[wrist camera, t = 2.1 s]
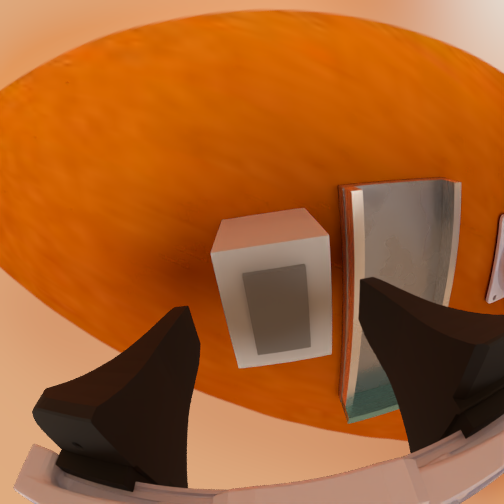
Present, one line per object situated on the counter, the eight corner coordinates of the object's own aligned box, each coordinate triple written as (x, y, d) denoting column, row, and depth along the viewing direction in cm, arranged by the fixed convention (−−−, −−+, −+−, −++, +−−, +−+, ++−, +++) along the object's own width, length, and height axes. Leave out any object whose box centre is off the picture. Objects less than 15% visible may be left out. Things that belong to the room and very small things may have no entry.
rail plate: (337, 185, 14) (359, 195, 11) (442, 177, 14) (474, 186, 11) (338, 395, 20) (347, 423, 17) (414, 373, 20) (429, 397, 17)
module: (303, 207, 15) (331, 237, 10) (312, 301, 17) (333, 358, 12) (222, 219, 15) (209, 256, 10) (240, 312, 17) (238, 372, 12)
